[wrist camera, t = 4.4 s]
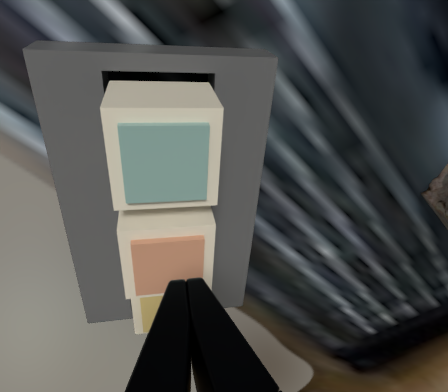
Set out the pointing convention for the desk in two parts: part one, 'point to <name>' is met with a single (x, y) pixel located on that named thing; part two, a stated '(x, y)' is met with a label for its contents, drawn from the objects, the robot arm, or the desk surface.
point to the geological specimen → (439, 196)
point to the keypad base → (97, 161)
